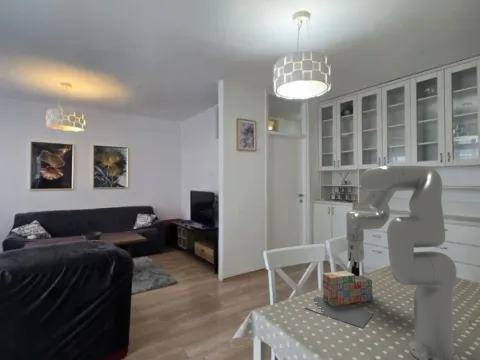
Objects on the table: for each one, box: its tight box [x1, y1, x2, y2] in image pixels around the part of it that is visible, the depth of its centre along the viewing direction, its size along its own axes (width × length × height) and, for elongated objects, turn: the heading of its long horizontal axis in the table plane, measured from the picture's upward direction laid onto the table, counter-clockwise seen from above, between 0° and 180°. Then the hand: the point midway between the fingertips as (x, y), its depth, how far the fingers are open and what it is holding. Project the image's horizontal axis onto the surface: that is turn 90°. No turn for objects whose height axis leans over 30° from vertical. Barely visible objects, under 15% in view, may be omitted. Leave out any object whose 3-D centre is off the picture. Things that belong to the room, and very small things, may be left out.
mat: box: [312, 296, 375, 329], centre depth 109 cm, size 14×24×1 cm, turn 49°
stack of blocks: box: [322, 270, 373, 306], centre depth 118 cm, size 21×6×12 cm, turn 105°
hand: (355, 275), depth 126 cm, fingers closed
